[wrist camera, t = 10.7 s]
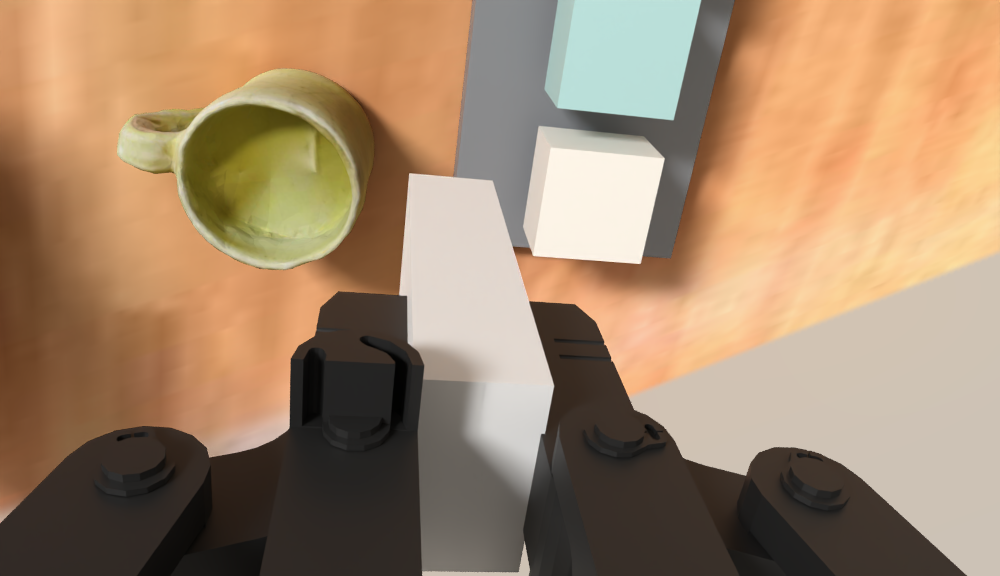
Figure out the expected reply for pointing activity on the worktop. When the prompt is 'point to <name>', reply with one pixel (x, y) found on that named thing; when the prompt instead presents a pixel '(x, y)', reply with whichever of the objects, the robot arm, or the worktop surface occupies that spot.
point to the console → (526, 105)
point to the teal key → (620, 55)
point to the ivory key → (591, 195)
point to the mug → (264, 166)
